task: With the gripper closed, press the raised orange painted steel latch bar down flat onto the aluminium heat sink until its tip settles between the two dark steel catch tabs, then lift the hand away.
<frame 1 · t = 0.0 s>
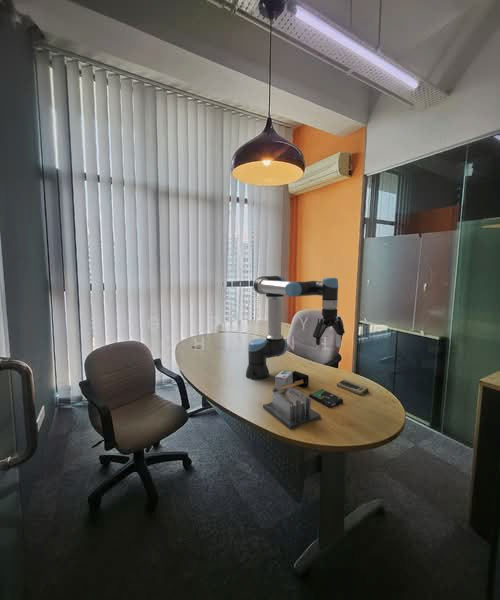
hand: (328, 349, 143), 28 cm above the table, tool pointing down, fingers open, 13 cm apart
latch bar: (288, 385, 134), point 13 cm above the table, hinge at 30.0°
heatsink base: (290, 412, 134), on the table
computer: (352, 390, 160), on the table
disk drive: (325, 401, 147), on the table
light bulb box: (284, 392, 157), on the table
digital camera: (298, 385, 166), on the table
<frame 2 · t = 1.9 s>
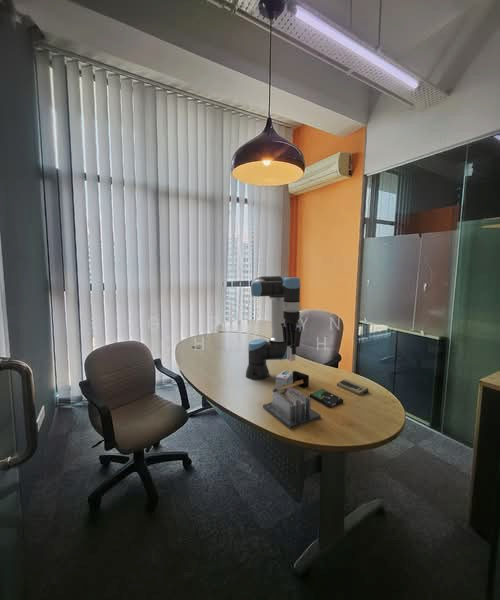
hand: (291, 359, 132), 26 cm above the table, tool pointing down, fingers closed
nothing on the table moved.
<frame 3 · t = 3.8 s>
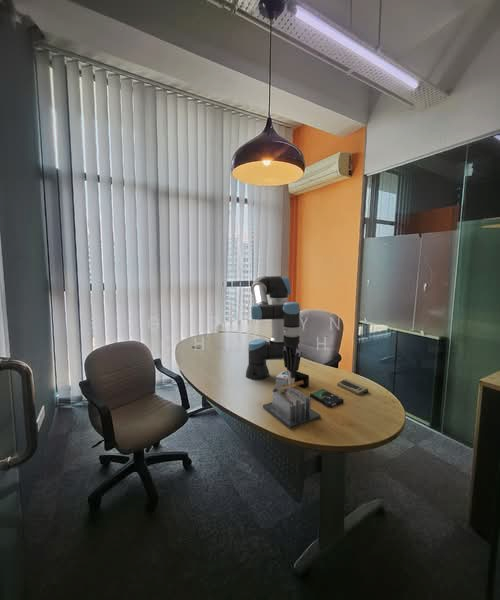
hand: (291, 383, 133), 15 cm above the table, tool pointing down, fingers closed
latch bar: (289, 386, 134), point 13 cm above the table, hinge at 29.0°, touching gripper
everything else where it was.
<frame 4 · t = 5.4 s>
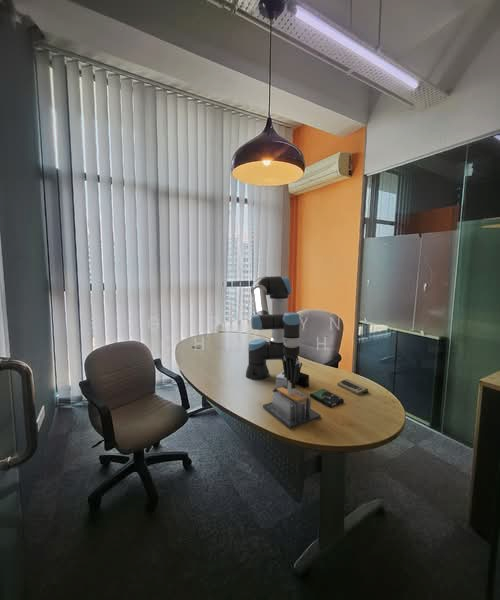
hand: (291, 393, 133), 10 cm above the table, tool pointing down, fingers closed, pressing on latch bar
latch bar: (290, 394, 134), point 9 cm above the table, hinge at 3.4°, touching gripper
everything else where it was.
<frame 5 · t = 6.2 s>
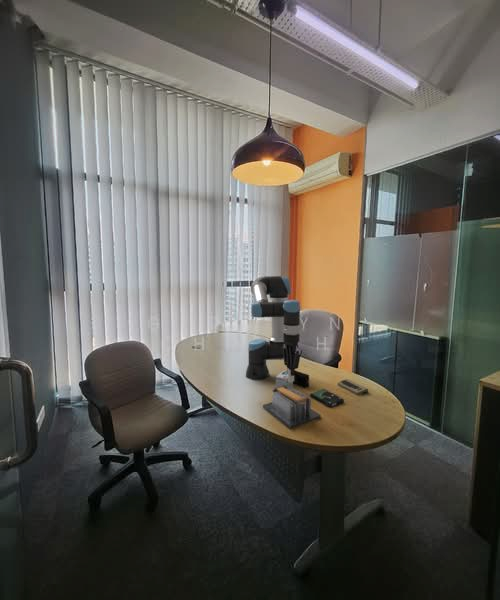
hand: (290, 381, 133), 16 cm above the table, tool pointing down, fingers closed
latch bar: (290, 394, 134), point 9 cm above the table, hinge at 3.3°
everything else where it was.
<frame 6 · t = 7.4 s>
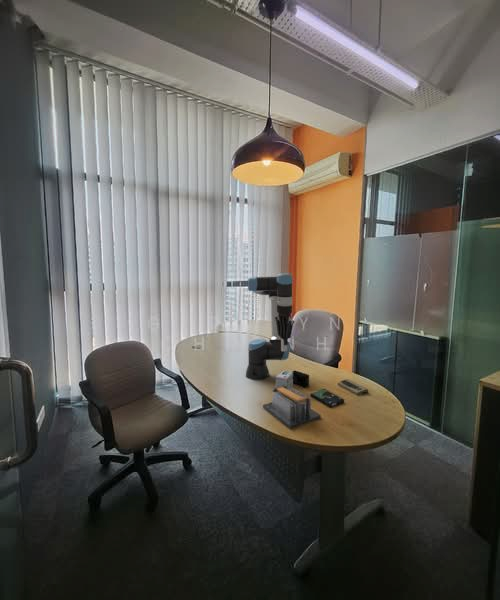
hand: (284, 350, 141), 28 cm above the table, tool pointing down, fingers closed
nothing on the table moved.
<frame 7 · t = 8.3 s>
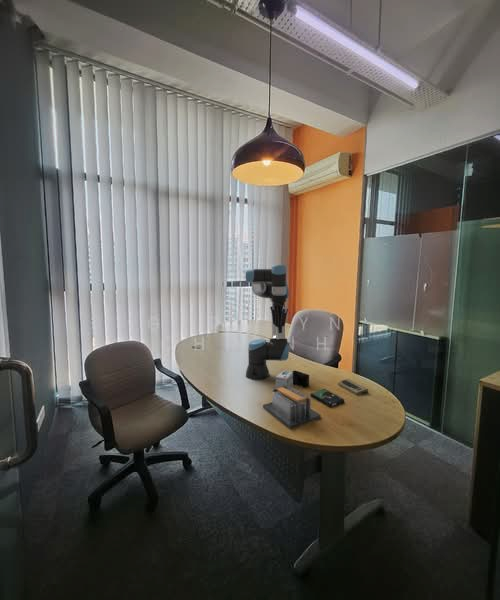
hand: (278, 338, 148), 32 cm above the table, tool pointing down, fingers closed
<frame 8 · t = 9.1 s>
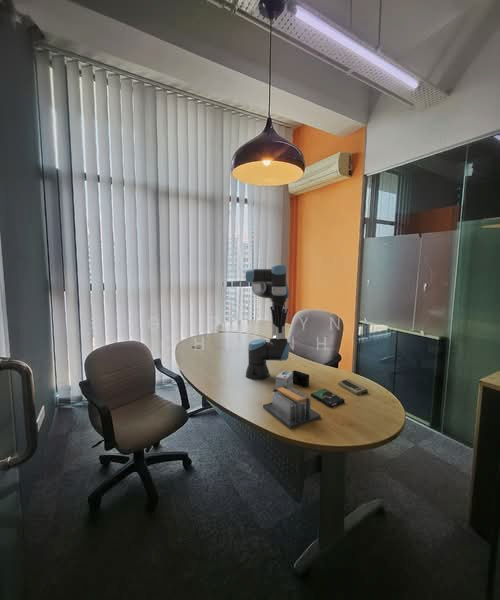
hand: (278, 338, 148), 32 cm above the table, tool pointing down, fingers closed
nothing on the table moved.
at the end: latch bar at +3° (first picture: +30°) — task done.
